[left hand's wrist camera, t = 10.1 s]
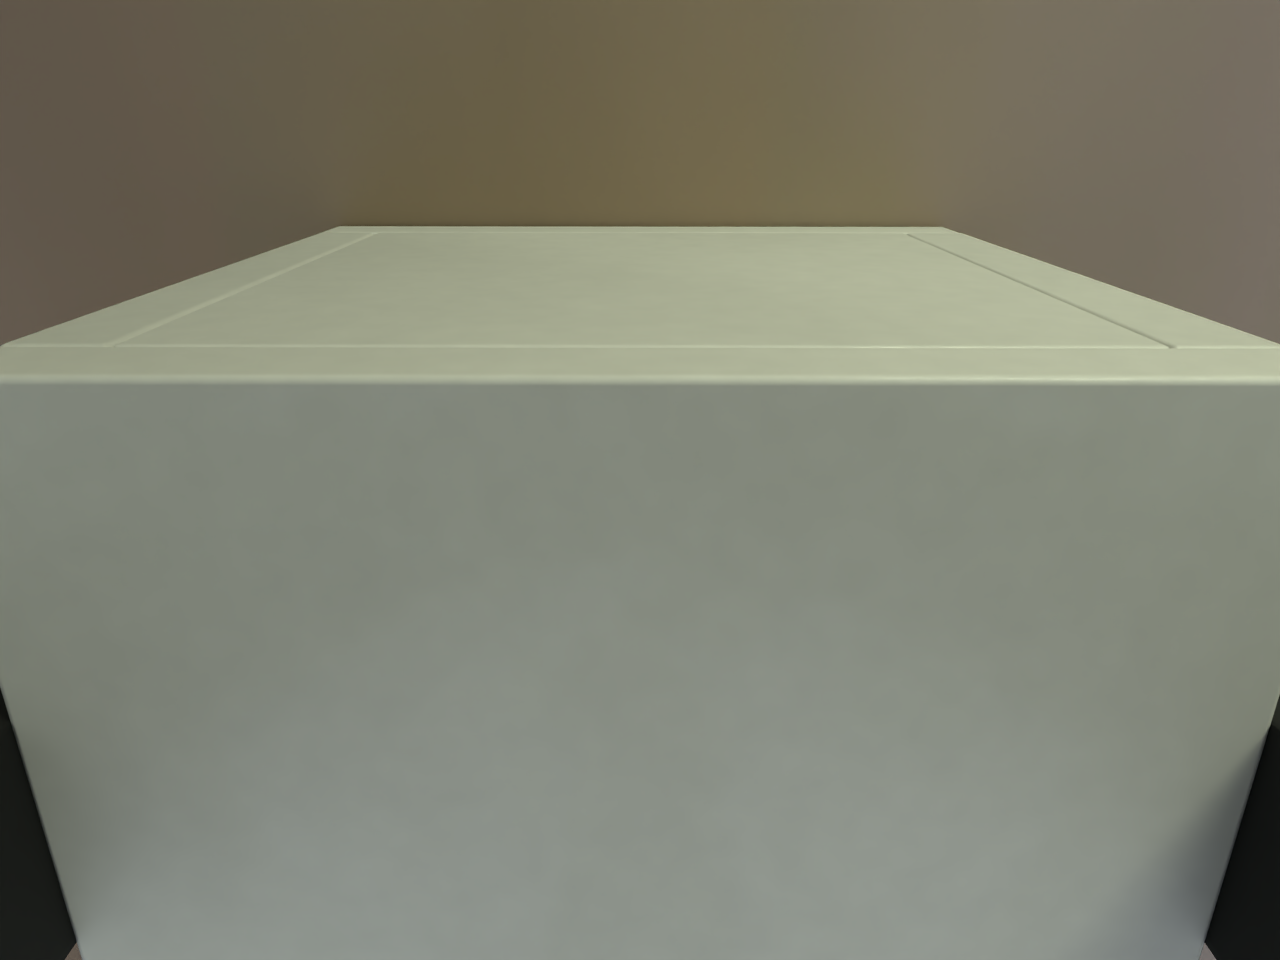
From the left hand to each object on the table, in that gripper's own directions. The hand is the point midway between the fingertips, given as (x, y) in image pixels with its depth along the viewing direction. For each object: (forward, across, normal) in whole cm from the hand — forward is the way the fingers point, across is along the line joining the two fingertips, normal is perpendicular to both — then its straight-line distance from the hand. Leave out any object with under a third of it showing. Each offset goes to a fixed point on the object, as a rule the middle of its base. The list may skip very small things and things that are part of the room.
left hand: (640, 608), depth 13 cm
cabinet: (+7, 0, -5) cm, 8 cm away
